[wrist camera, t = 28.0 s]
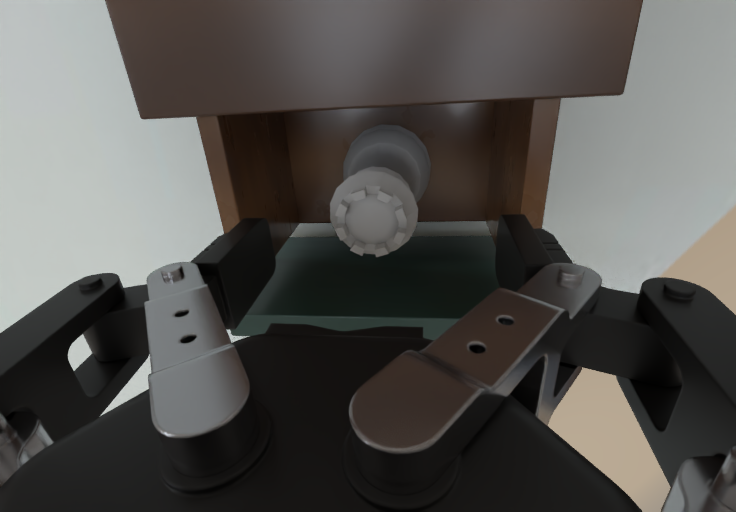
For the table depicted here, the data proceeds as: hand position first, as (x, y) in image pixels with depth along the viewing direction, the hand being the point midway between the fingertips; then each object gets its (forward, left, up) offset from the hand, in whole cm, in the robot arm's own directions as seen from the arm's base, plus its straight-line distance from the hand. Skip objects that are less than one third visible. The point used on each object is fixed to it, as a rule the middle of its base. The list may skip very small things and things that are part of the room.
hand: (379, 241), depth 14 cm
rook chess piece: (0, -1, -8) cm, 8 cm away
